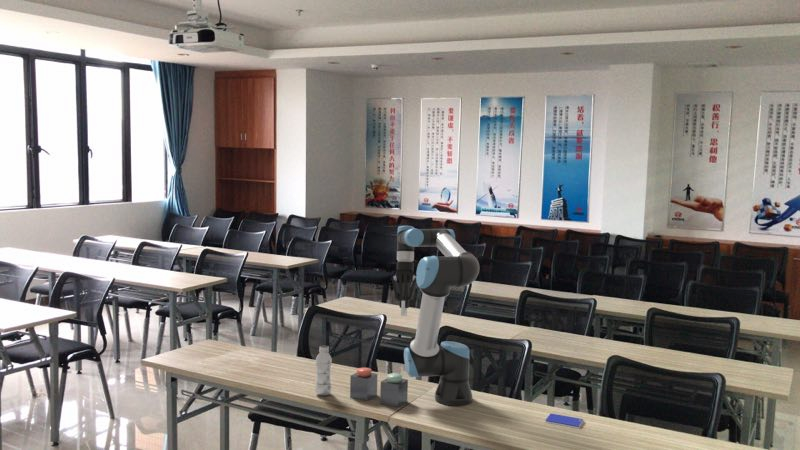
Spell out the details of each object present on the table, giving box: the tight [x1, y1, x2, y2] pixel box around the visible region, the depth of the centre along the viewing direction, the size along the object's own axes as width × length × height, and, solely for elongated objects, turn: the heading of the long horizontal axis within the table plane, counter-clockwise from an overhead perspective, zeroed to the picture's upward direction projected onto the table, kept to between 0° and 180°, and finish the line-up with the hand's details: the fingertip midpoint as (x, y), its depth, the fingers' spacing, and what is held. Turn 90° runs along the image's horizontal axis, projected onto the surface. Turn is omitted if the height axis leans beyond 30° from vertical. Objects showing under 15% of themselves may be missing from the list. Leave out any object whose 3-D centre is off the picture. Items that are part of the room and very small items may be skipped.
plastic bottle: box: [315, 345, 333, 396], centre depth 280 cm, size 6×7×20 cm
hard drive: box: [545, 412, 584, 429], centre depth 259 cm, size 2×8×12 cm
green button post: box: [379, 377, 409, 408], centre depth 274 cm, size 8×8×9 cm
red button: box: [356, 367, 373, 377], centre depth 280 cm, size 6×6×10 cm
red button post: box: [349, 372, 378, 402], centre depth 280 cm, size 8×8×9 cm
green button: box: [386, 372, 403, 383], centre depth 274 cm, size 6×6×10 cm
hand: (403, 315), depth 298 cm, fingers closed
